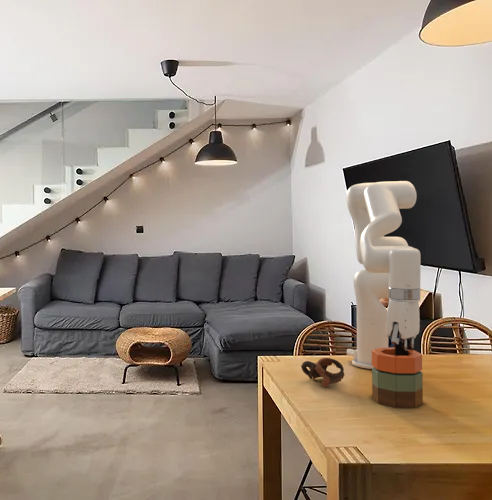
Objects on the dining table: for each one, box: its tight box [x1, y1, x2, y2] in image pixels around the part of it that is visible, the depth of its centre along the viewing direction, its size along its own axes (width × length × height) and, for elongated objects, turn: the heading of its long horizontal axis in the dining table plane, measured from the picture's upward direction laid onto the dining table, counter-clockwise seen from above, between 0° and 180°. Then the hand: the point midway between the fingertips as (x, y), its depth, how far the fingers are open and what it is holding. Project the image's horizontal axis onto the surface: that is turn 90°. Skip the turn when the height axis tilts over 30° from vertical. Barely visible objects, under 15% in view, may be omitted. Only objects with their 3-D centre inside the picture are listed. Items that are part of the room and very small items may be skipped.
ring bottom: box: [371, 382, 424, 409], centre depth 138 cm, size 11×11×4 cm
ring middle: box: [371, 367, 424, 392], centre depth 138 cm, size 11×11×4 cm
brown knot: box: [300, 357, 345, 388], centre depth 156 cm, size 12×10×8 cm
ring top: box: [372, 347, 423, 373], centre depth 139 cm, size 11×11×4 cm
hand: (404, 363), depth 142 cm, fingers closed on ring top, 2 cm apart
